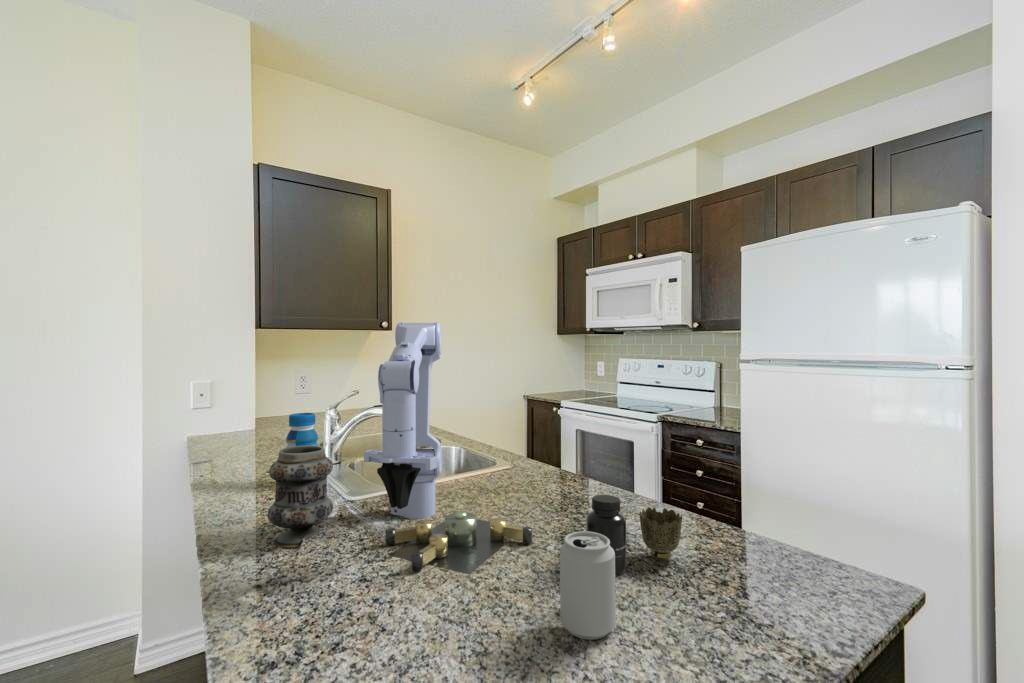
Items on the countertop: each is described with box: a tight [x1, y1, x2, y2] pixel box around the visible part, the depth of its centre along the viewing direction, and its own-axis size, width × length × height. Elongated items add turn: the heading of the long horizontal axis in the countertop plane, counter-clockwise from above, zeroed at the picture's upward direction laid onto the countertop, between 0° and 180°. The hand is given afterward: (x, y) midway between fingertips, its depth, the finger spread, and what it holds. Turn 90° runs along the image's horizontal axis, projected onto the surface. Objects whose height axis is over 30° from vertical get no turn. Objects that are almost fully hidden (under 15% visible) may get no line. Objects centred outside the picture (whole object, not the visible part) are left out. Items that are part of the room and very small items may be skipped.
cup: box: [638, 507, 683, 562], centre depth 86 cm, size 8×7×8 cm
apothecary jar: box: [267, 445, 334, 549], centre depth 96 cm, size 12×12×18 cm
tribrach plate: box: [388, 510, 525, 575], centre depth 91 cm, size 17×22×6 cm
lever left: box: [385, 519, 433, 546], centre depth 90 cm, size 9×3×3 cm, turn 110°
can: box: [559, 530, 617, 641], centre depth 65 cm, size 8×8×12 cm
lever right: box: [489, 517, 533, 544], centre depth 91 cm, size 9×3×3 cm, turn 64°
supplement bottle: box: [585, 494, 627, 577], centre depth 82 cm, size 7×7×12 cm
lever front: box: [411, 534, 448, 572], centre depth 82 cm, size 9×3×3 cm, turn 155°
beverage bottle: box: [285, 412, 319, 448], centre depth 132 cm, size 8×8×20 cm
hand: (399, 506), depth 83 cm, fingers closed
